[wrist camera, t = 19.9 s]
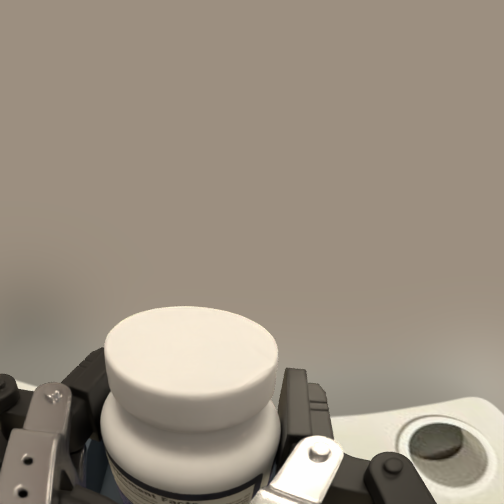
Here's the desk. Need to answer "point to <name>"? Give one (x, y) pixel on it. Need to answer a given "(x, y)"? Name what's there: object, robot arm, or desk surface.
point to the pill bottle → (190, 407)
